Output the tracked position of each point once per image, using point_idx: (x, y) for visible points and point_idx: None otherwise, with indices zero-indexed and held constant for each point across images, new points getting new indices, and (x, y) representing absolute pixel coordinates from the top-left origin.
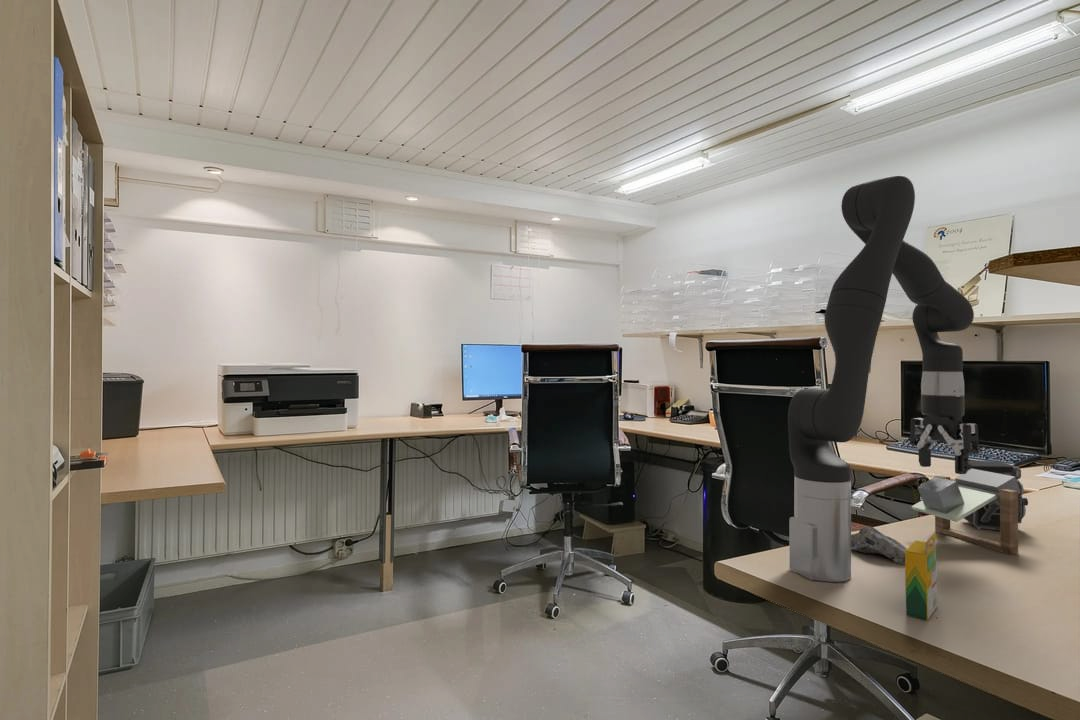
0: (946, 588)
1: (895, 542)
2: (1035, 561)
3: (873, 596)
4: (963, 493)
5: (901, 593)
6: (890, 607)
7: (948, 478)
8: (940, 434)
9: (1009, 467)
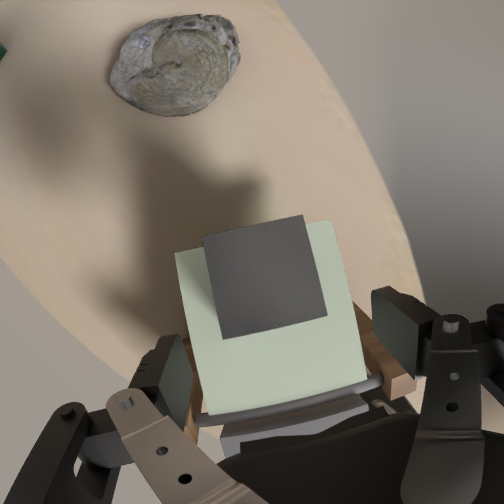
0: (26, 102)
1: (150, 73)
2: (148, 351)
3: (30, 10)
4: (287, 371)
5: (26, 39)
6: (6, 22)
7: (388, 393)
8: (298, 484)
9: None
